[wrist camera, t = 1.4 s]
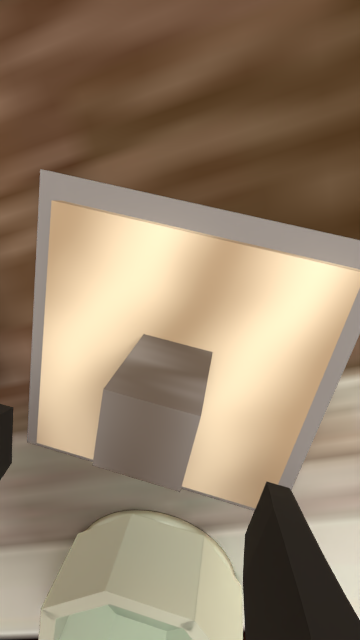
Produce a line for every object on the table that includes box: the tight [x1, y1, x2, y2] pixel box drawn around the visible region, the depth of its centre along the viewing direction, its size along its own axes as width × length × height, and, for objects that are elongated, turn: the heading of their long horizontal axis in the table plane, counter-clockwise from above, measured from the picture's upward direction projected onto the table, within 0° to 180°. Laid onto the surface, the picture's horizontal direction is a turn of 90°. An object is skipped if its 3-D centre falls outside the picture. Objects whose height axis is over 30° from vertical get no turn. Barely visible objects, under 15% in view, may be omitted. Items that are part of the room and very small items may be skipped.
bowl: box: [38, 510, 243, 640], centre depth 19 cm, size 10×10×5 cm
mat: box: [27, 169, 360, 511], centre depth 16 cm, size 14×14×1 cm
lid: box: [37, 200, 360, 509], centre depth 13 cm, size 12×12×5 cm
